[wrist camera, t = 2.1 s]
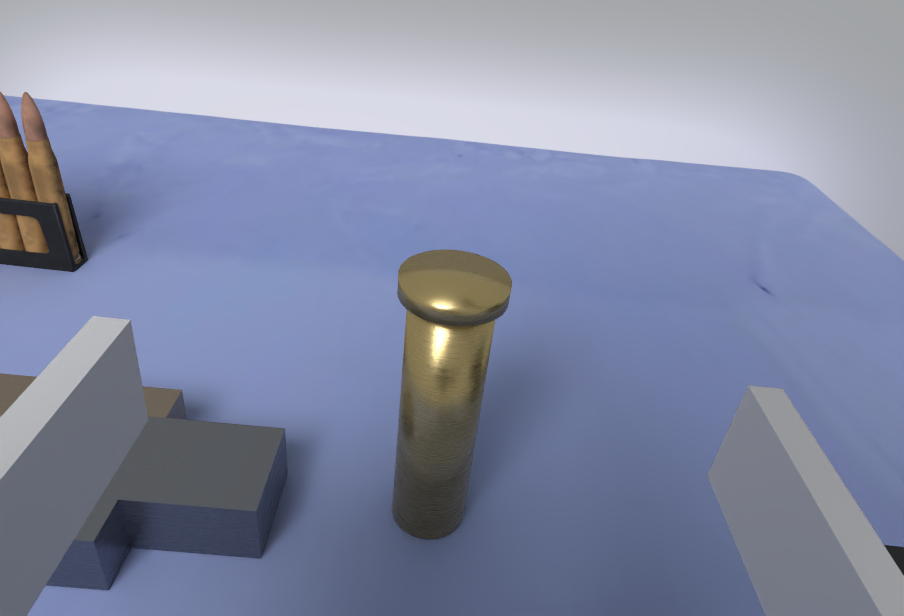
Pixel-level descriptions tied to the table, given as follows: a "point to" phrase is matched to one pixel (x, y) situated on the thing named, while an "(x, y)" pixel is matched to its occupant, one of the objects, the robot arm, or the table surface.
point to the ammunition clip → (34, 197)
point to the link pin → (442, 382)
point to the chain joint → (175, 490)
